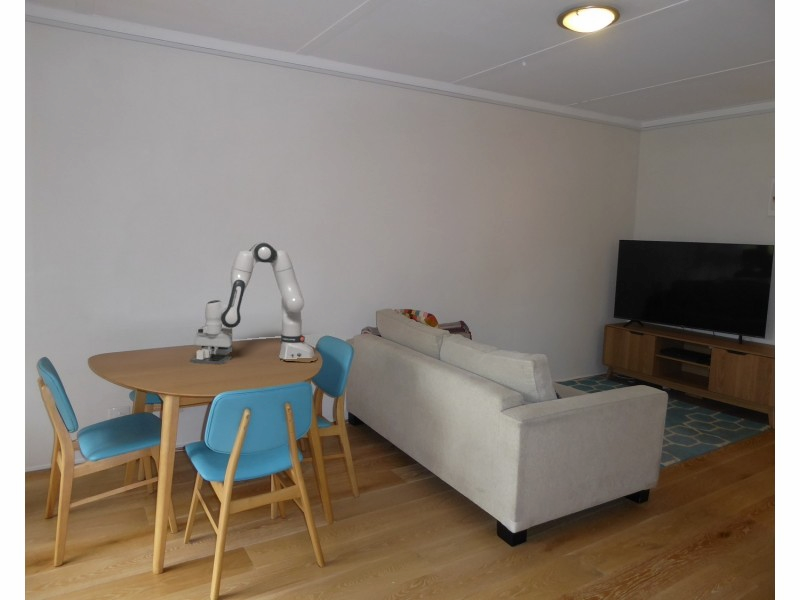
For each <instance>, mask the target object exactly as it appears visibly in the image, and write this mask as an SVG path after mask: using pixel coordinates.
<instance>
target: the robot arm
mask: <svg viewBox="0 0 800 600" xmlns="http://www.w3.org/2000/svg"><path fill="white" fill-rule="evenodd" d="M257 263H270V266H271V267H272V271H273V273H274V279H275V281H276V284H277V287H278V290H279V294H280V295H281V319H282V320H281V322H282V323H281V325H282V326H281V335H280V352H279V356H278V358H279V357H280V358H283V359H297V358H312V357H313V356H315V350H314V348H313V347H312V346H311V345H310V344H308V343H307V342H306V341H305V340H306V339H305V337H306V336H305V335H303V334H302V329H303V327H302V325H303V322H302V320H303V319H302V312H301V311H302V310H303V309H304V307H305V300H304V297H303V294H302V290H301V288H300V286H299V283H298V281H297V280H298V279H297V278H296V273H295V269H294V266H293V262H292V259H291V258H290V256H289V254H288V252H287V251H286V250H284V249H279V250H276V249H275V248H274V247H273V246H271V245H270V244H269V243H268V242H265V241H262V242H261V241H260V242H258V243H255V244H254V245H253V246H252V247H251V248H250V249H249V250H246V249H244V250H240V251H238V252H237V254H236V256H235V259H234V261H233V263H232V267H231V272H230V284H231V285H230V286H231V289H230V290H231V291H230V297H229V301H228V304H226V303H224V302H222V301H221V300H220V299H217V300H215V299H214V300H211V301H208V302H207V303H206V306H205V309H204V310H205V311H204V313H205V314H204V317H205V322H204V326H200V327H198V328H197V329H196V330H195V335H194V340H193V343H194V345H195V346H199V347H201V346H208V349H209V351H210V354H211V355H217V354H216V351H217V349H218V347H228V348H229V347H231V346H232V347H233V332H232V333H231V332H230V331H225V330H222V328H223V326H224V327H225V328H232V329H233V328H235V327H237V326H239V324H240V323H241V320H242V319H241V312H240V311H241V310H240V309H241V305H242V302H243V301H242V300H243V297H244V293H245V291H246V289H247V287H248V285H249V283H250V281H251V278H252V274H253V271H254V267H255V265H256V264H257ZM229 332H230V333H229ZM212 346H213V347H214V348H216V349H215V350H214V351H212V349H211V348H212Z"/></svg>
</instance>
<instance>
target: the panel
mask: <svg viewBox="0 0 800 600" xmlns="http://www.w3.org/2000/svg"><path fill="white" fill-rule="evenodd" d="M228 360H229V361H230V360H232V356H231V355H218V354H211V357H209V358H205V359H203V360H201V359H197V355H196V356H195V357H192V358H191V359H189V363H190V362H193V364H205V363H206V365H207V364H208V365H209V364H211V365H221V364H223V365H224V364H226V363H227V362H229V361H228ZM225 362H226V363H225Z"/></svg>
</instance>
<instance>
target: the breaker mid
mask: <svg viewBox="0 0 800 600" xmlns="http://www.w3.org/2000/svg"><path fill="white" fill-rule="evenodd" d="M203 350H205V358H209V357H211V355H212V354H210V351H209V349H203Z"/></svg>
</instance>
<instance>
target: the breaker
mask: <svg viewBox="0 0 800 600" xmlns="http://www.w3.org/2000/svg"><path fill="white" fill-rule="evenodd" d="M196 356H197V359H201V360H203V359H205V350H202V349H198V350H196Z"/></svg>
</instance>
